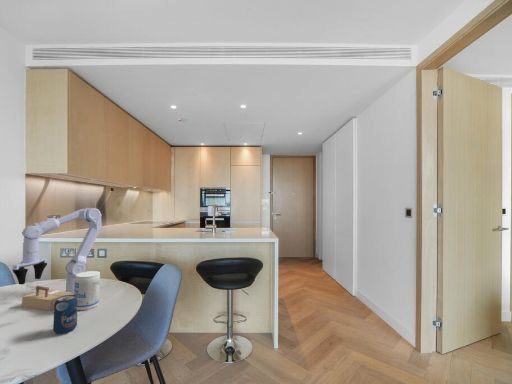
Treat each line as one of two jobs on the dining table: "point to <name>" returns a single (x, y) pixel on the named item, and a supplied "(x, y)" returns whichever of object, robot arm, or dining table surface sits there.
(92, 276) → the supplement tub
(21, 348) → the dining table surface
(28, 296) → the far flap
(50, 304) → the carton
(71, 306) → the soda can
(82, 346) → the dining table surface
